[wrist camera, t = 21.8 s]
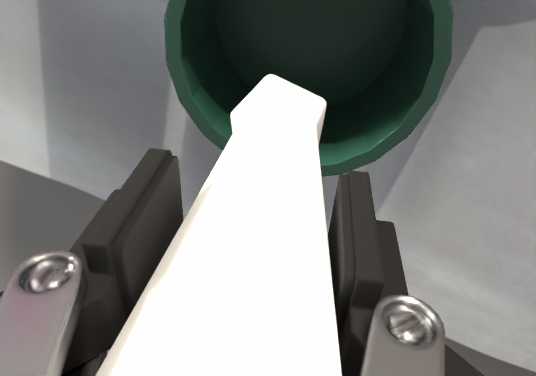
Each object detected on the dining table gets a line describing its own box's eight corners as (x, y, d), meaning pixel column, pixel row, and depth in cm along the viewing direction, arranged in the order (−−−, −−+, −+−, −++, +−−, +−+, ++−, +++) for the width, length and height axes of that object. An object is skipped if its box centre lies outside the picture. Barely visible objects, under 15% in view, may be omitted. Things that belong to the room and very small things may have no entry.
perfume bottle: (329, 53, 15) (339, 783, 3) (342, 158, 17) (380, 793, 5) (209, 75, 16) (-193, 674, 4) (237, 170, 18) (55, 725, 6)
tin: (235, 126, 32) (209, 189, 25) (178, -78, 24) (120, -69, 18) (418, 100, 29) (447, 163, 22) (417, -140, 22) (459, -158, 15)
